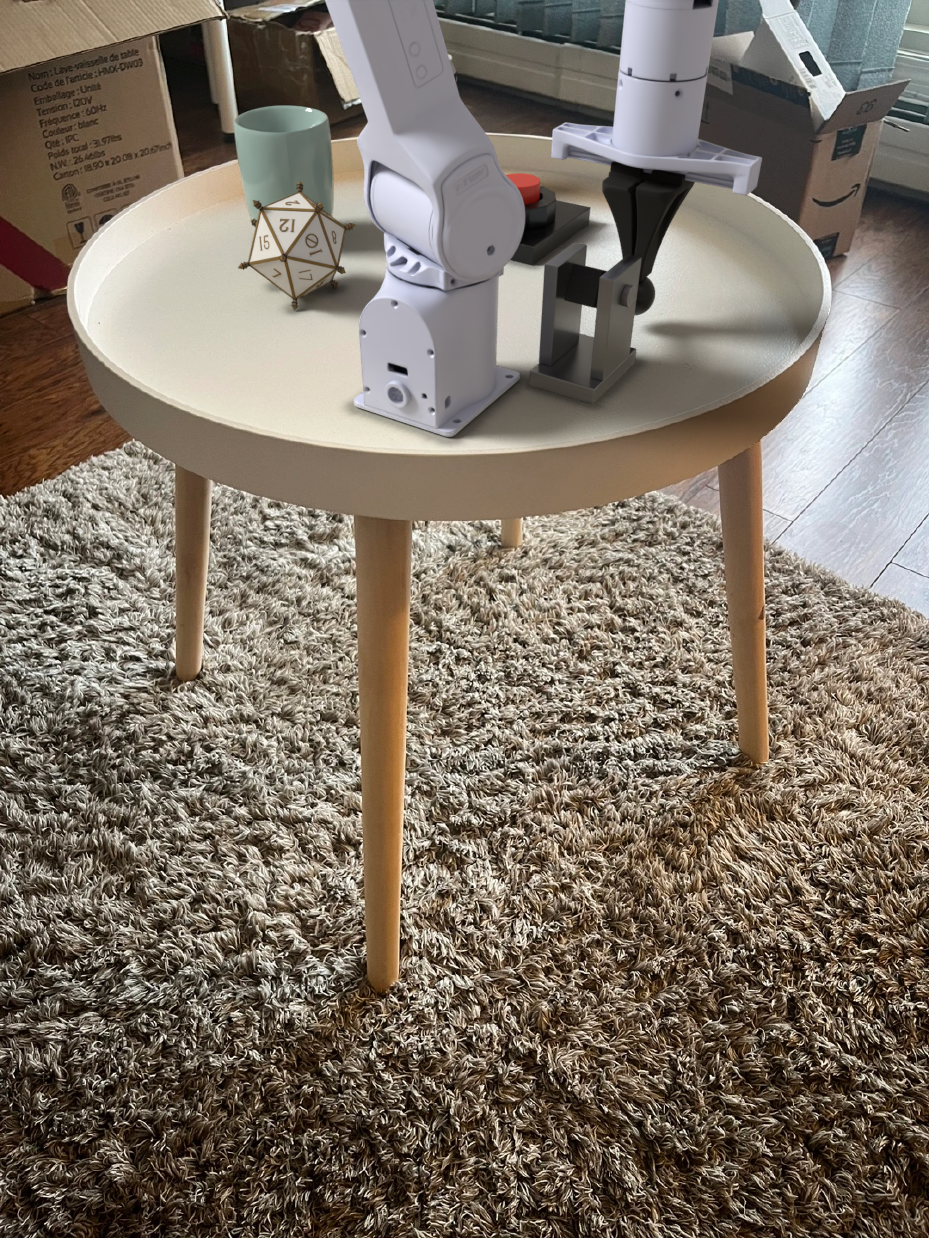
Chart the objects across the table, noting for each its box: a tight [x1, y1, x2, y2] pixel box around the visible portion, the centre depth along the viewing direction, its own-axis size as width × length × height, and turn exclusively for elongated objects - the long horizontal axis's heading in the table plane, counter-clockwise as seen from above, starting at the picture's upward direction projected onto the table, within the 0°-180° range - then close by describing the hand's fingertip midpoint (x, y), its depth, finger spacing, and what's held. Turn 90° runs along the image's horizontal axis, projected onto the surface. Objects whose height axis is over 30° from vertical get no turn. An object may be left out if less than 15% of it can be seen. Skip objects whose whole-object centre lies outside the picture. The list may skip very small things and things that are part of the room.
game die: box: [237, 181, 356, 312], centre depth 78 cm, size 9×8×10 cm
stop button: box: [505, 172, 541, 204], centre depth 88 cm, size 4×4×2 cm
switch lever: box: [564, 263, 656, 317], centre depth 71 cm, size 12×3×3 cm, turn 149°
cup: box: [233, 105, 335, 229], centre depth 87 cm, size 8×8×10 cm
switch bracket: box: [528, 241, 641, 405], centre depth 69 cm, size 7×6×8 cm
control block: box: [510, 185, 591, 267], centre depth 90 cm, size 11×9×4 cm
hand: (637, 275), depth 74 cm, fingers closed, pressing on switch lever
